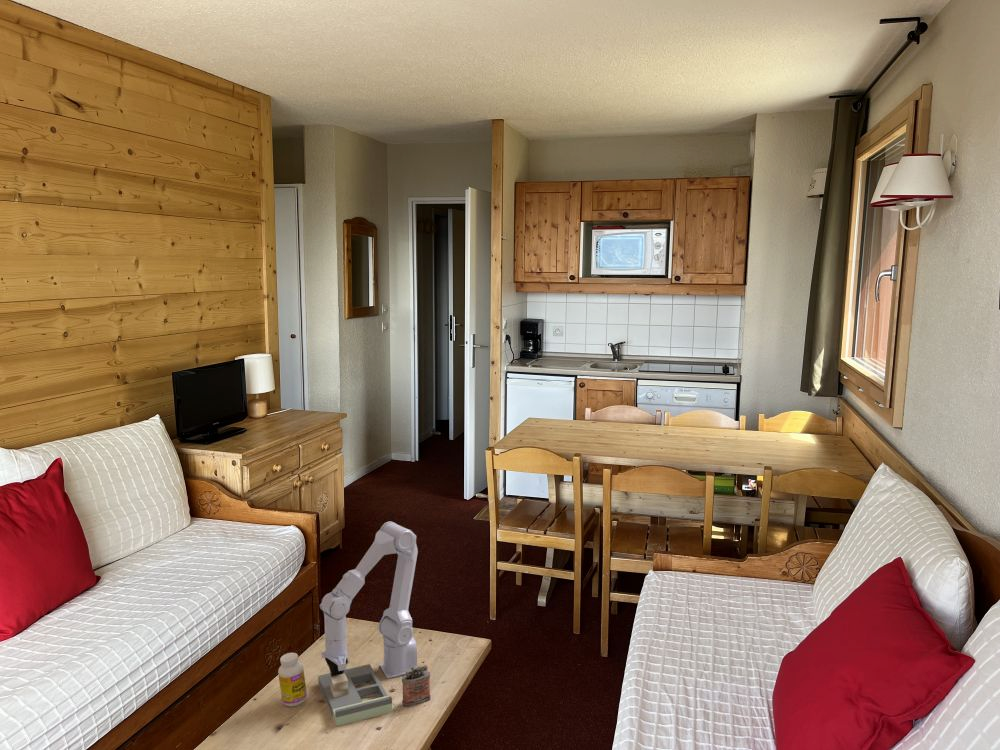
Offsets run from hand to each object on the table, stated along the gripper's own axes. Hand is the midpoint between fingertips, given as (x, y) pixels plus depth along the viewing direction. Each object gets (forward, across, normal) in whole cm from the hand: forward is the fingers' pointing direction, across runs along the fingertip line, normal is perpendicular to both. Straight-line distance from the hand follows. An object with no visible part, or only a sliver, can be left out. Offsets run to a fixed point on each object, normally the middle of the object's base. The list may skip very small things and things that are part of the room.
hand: (337, 682), depth 210 cm
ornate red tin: (+4, +13, +19) cm, 23 cm away
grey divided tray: (+3, +4, +4) cm, 6 cm away
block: (+1, +3, 0) cm, 4 cm away
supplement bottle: (+3, -1, -11) cm, 12 cm away
